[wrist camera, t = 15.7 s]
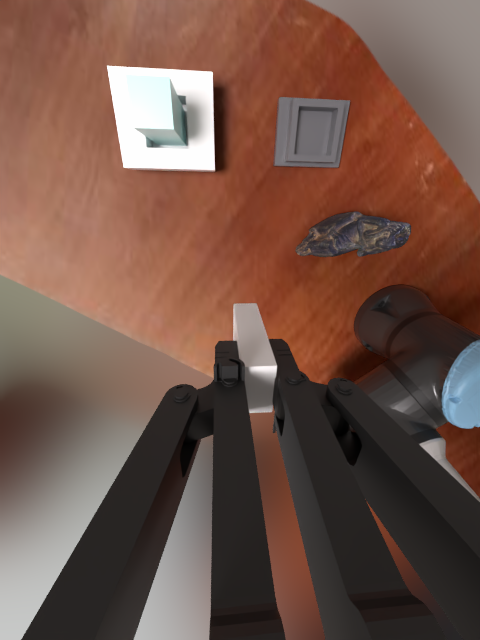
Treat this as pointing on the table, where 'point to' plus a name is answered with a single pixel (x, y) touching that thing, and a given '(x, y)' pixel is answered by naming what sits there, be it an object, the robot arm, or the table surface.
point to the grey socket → (310, 132)
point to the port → (198, 122)
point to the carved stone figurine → (353, 235)
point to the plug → (156, 109)
